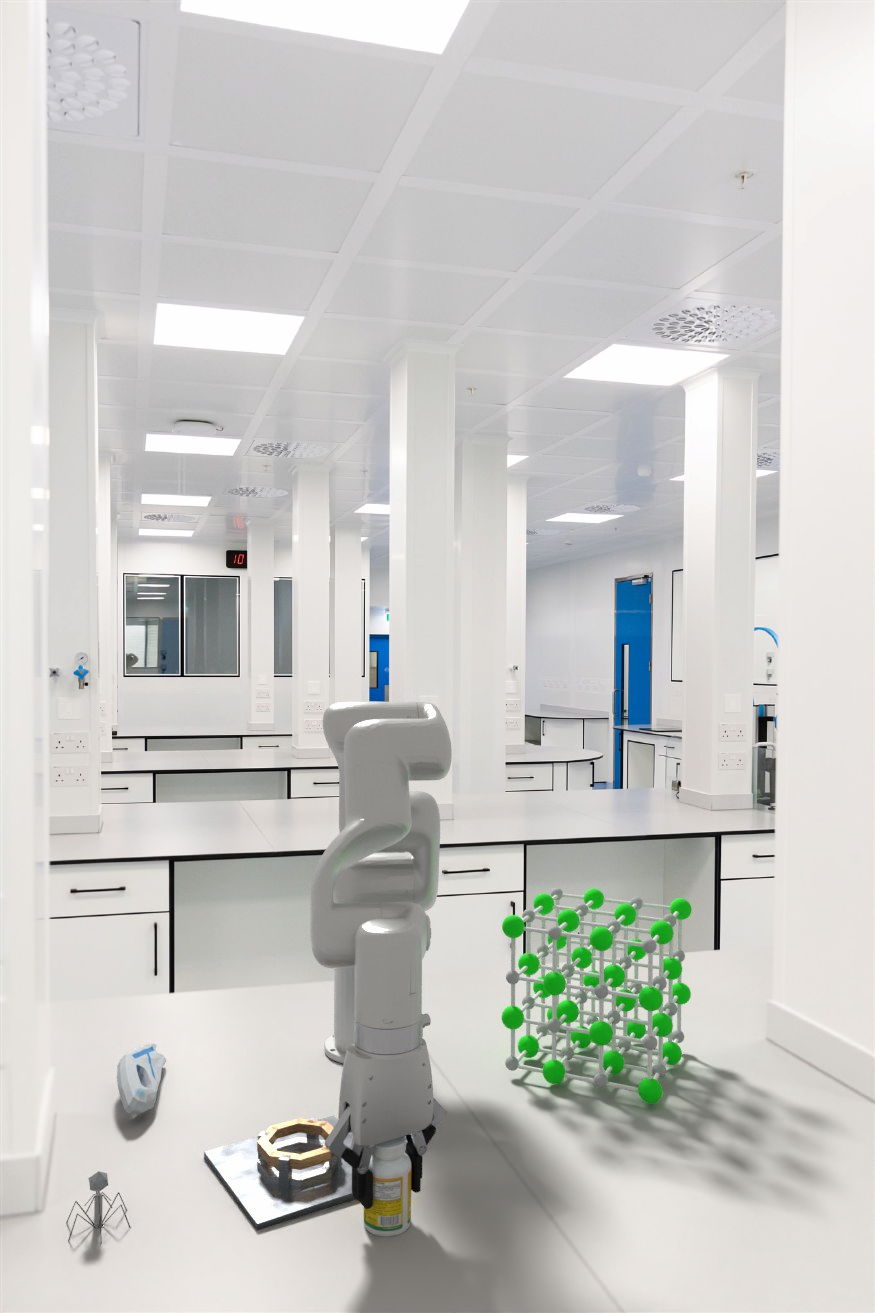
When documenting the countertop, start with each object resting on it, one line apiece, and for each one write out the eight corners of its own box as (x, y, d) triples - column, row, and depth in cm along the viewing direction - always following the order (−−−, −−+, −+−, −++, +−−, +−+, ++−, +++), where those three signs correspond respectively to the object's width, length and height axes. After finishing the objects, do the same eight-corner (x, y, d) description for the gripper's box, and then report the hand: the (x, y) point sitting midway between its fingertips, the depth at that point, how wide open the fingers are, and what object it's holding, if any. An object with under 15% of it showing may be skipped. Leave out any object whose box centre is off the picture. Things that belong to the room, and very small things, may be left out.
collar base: (333, 1123, 132) (333, 1092, 132) (399, 1185, 117) (399, 1151, 117) (204, 1159, 123) (204, 1126, 123) (257, 1233, 107) (257, 1195, 107)
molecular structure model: (692, 1044, 159) (693, 896, 159) (659, 1110, 136) (660, 938, 136) (550, 1019, 169) (551, 880, 169) (497, 1077, 147) (498, 916, 146)
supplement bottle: (388, 1245, 105) (388, 1156, 105) (353, 1225, 109) (353, 1140, 109) (421, 1222, 109) (421, 1137, 109) (386, 1204, 113) (386, 1122, 113)
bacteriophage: (66, 1260, 103) (66, 1197, 103) (62, 1219, 110) (63, 1160, 110) (135, 1245, 106) (135, 1183, 106) (127, 1205, 113) (127, 1148, 113)
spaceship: (118, 1080, 129) (96, 1108, 129) (158, 1109, 130) (136, 1137, 130) (137, 1024, 152) (118, 1048, 152) (171, 1049, 153) (152, 1073, 152)
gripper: (435, 1007, 117) (434, 1158, 117) (303, 1037, 107) (302, 1201, 108) (470, 1028, 110) (469, 1188, 110) (333, 1062, 101) (332, 1236, 101)
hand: (387, 1193), depth 109 cm, fingers closed on supplement bottle, 5 cm apart
